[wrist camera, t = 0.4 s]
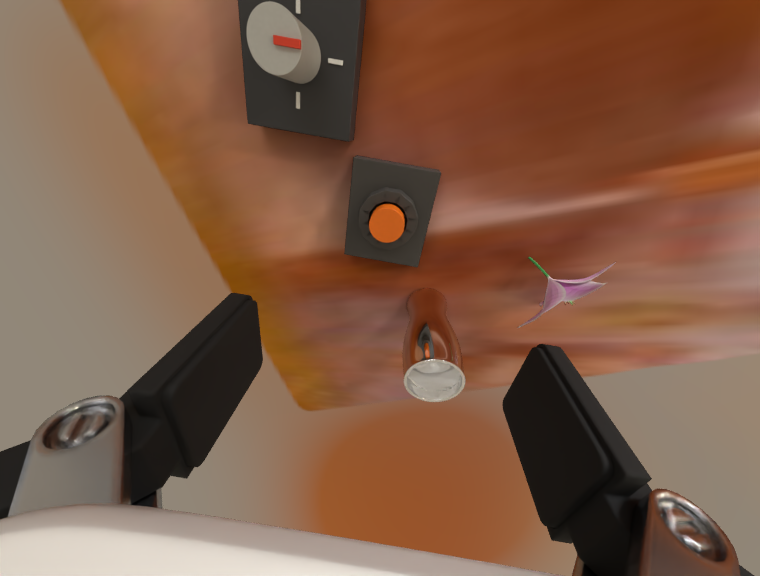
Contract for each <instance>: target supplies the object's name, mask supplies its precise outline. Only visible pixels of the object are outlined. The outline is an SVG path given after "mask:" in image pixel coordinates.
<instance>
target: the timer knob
mask: <svg viewBox="0 0 760 576" xmlns="http://www.w3.org/2000/svg"><path fill="white" fill-rule="evenodd" d="M246 31H247V42H248V46H249V49H250V52H251V54H252V56H253V58H254V59H255V61H256V62H257V64H258V65H259V66H260V67H261V68H262V69H263V70H265V71H266V72H268V73H270V74H272V75H275V76H278V77H281V78H283V79H286V80H289V81H292V82H295V83H298V84H304V83H307V82H309V81H311V80H312V79H313V78H314V77H315V76H316V75H317V73H318V71H319V68H320V63H321V52H320V47H319V44H318V42H317V40H316V38H315V36H314V35H313V33H312V32H311V31H310V30H309V29H308V28H307V27H306V26H305V25H304V24H302V23H301V22H300V21H299V20H298V19H297V18H296V17H295V16H294V15H293V14H292V13H291V12H290V11H289V10H288V9H286V8H285V7H284V6H282V5H281V4H279V3H276V2H271V1H268V2H263V3H261V4H259V5H258V6H256V7H255V8H254V9H253V11H252V12H251V14H250V16H249V19H248V22H247V30H246Z"/></svg>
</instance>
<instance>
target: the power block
mask: <svg viewBox="0 0 760 576" xmlns="http://www.w3.org/2000/svg"><path fill="white" fill-rule="evenodd" d="M440 176H441V172H440V171H439V170H436V169H430V168H425V167H419V166H414V165H408V164H402V163H397V162H391V161H386V160H380V159H374V158H369V157H363V156H358V155H357V156H355V157H354V158H353V168H352V179H351V189H350V200H349V211H348V221H347V232H346V242H345V253H344V254H346V255H352V256H358V257H363V258H369V259H374V260H380V261H386V262H391V263H397V264H402V265H408V266H414V267H418V264H419V260H420V256H421V252H422V248H423V244H424V240H425V236H426V232H427V228H428V224H429V220H430V216H431V212H432V208H433V204H434V200H435V196H436V192H437V188H438V184H439V180H440ZM382 204H393V205H395V206H397V207H398V208H400V210H401V211H402V212H403V214H404V219H405V224H404V231H403V233H402V235H401V236H400V237H399V238H398V239H397V240H395V241H393V242H389V243H385V242H381V241H378V240H377V239H375V238H374V237H373V236H372V234H371V232H370V229H369V221H370V218H371V215H372V213H373V211H374V210H375V209H376V208H377V207H378V206H380V205H382Z"/></svg>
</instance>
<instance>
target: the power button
mask: <svg viewBox="0 0 760 576" xmlns="http://www.w3.org/2000/svg"><path fill="white" fill-rule="evenodd" d="M404 224H405V219H404V214H403V212H402V211H401V210H400V208H398V207H397V206H395V205H393V204H382V205H380V206H378V207H377V208H376V209H375V210H374V211H373V213H372V215H371V218H370V221H369V229H370V232H371V234H372V236H373V237H374V238H375V239H377V240H378V241H381V242H385V243H389V242H393V241H395V240H397V239H398V238H399V237H400V236H401V235H402V233H403V231H404Z"/></svg>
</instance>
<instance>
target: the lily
mask: <svg viewBox="0 0 760 576" xmlns="http://www.w3.org/2000/svg"><path fill="white" fill-rule="evenodd" d="M528 259H530V260H531V261H532V262H533V263H534V264H535V265H536V266H537V267H538V268H539V269H540V270H541V271H542V272H543V273H544V274H545V276H546V277H547V278H548V286H547V290H546V294H545V298H544V301H543V302H541V303H539V305H540V306H542V305H543V304H544V305H543V309H542V310H541V311H540V312H539V313H538V314H537V315H536V316H534V317H533V318H531V319H530V320H528V321H527V322H525V323H524V324H522V325H520V326H519V327H522V326H524V325H526V324H529V323H530V322H532V321H534V320H536V319H537V318H539V317H540V316H541V315H542V314H543V313H545V312H547V311H548V310H550V309H552V308H553V307H555V306H556V305H557V304H559V303H560V302H561V301H565V305H566V301H567V303H568V301H569V302H570V303H571V304H572V303H573V304H572V305H574V304H575V303H574V302H572V301H573V300H576V299H579V298H582V297H584V296H586V295H588V294H590V293H592V292H594V291H596V290H597V289H599V288H601V287H602V286H604V285H605V284H607V283H597V282H591V280H592V279H594V278H595V277H597V276H599V275H600V274H602V273H603V272H605V271H606V270H607V269H609V268H610V267H611V266H612V265H613V264H614V263H615V262H614V263H613V264H611V265H610V266H608V267H606V268H605V269H603V270H601V271H599V272H598V273H596V274H594V275H591V276H589V277H586V278H583V279H577V280H556V279H552V278H551V277H550V276H549V275H548V274H547V273H546V272H545V271H544V270H543V269H542V268H541V267H540V266H539V265H538V264H537V263H536V262H535V261H534V260H533V259H532V258H531V257H528ZM568 304H569V303H568ZM519 327H517V328H519Z"/></svg>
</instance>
